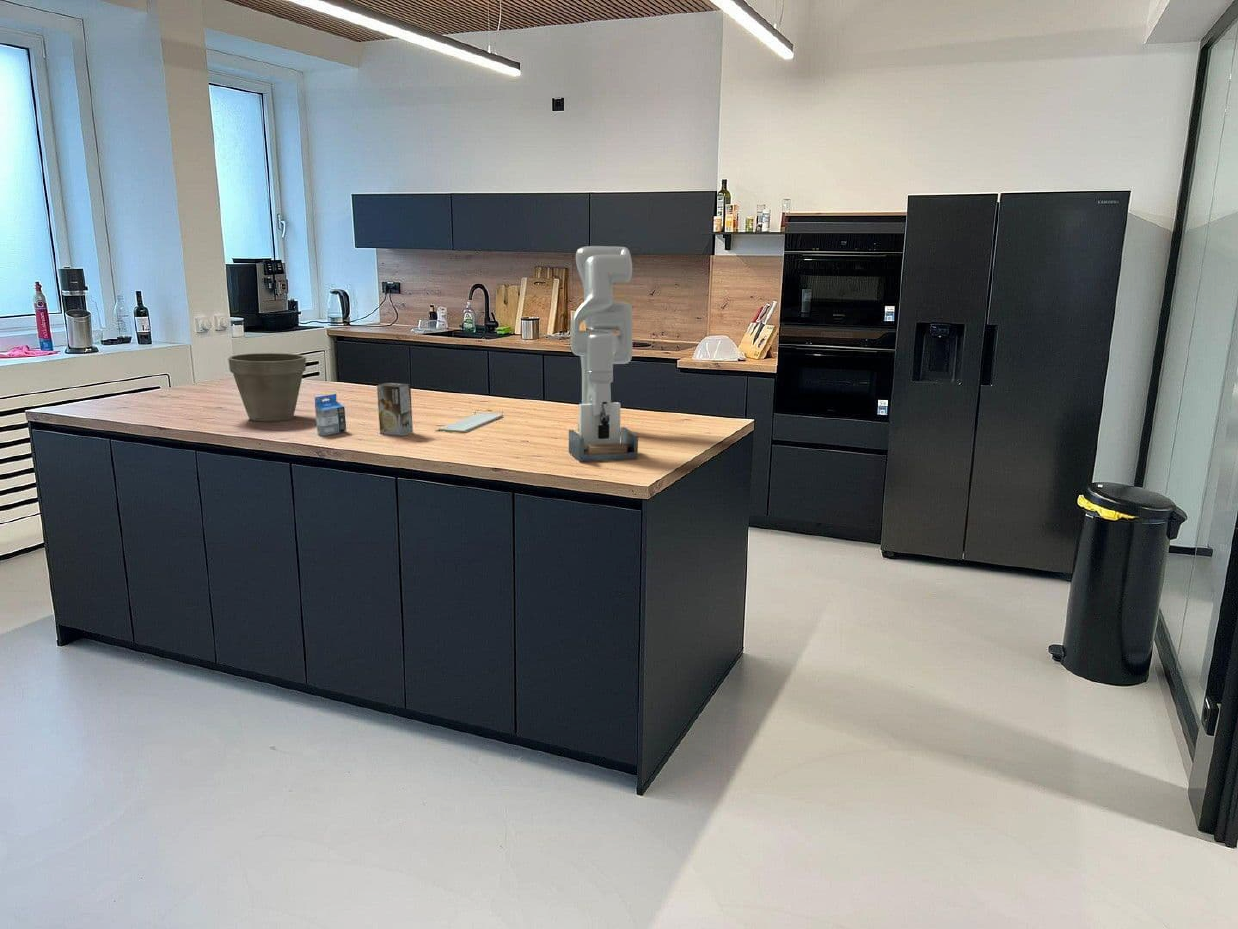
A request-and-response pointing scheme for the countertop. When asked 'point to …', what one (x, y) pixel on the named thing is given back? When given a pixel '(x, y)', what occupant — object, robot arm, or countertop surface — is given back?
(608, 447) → the offcut stack
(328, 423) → the label tape box
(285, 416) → the plant pot
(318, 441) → the countertop surface
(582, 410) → the white rectangular panel
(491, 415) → the baseboard molding
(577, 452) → the offcut rack
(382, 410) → the coffee box
